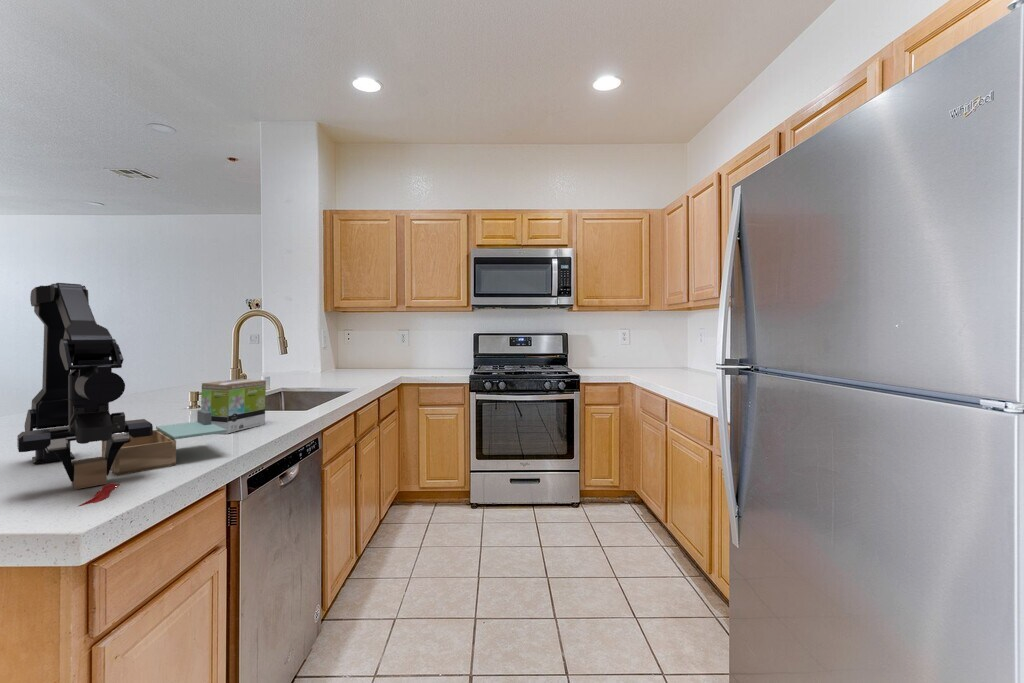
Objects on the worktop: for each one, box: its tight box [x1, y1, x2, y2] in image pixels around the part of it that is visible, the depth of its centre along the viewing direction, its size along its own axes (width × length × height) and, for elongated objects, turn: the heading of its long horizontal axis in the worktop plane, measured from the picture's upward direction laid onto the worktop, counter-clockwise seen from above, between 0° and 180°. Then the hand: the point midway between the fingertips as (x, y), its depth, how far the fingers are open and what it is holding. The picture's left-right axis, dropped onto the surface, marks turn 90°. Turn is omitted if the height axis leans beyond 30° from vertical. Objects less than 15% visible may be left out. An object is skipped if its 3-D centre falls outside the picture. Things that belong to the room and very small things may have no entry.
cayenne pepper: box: [76, 483, 121, 507], centre depth 83 cm, size 12×5×2 cm, turn 2°
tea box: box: [200, 378, 267, 435], centre depth 140 cm, size 15×10×15 cm
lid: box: [155, 409, 227, 440], centre depth 110 cm, size 16×10×4 cm, turn 49°
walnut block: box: [71, 455, 108, 490], centre depth 88 cm, size 4×4×4 cm
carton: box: [101, 429, 177, 476], centre depth 103 cm, size 16×10×6 cm, turn 49°
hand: (89, 478), depth 88 cm, fingers closed on walnut block, 4 cm apart
